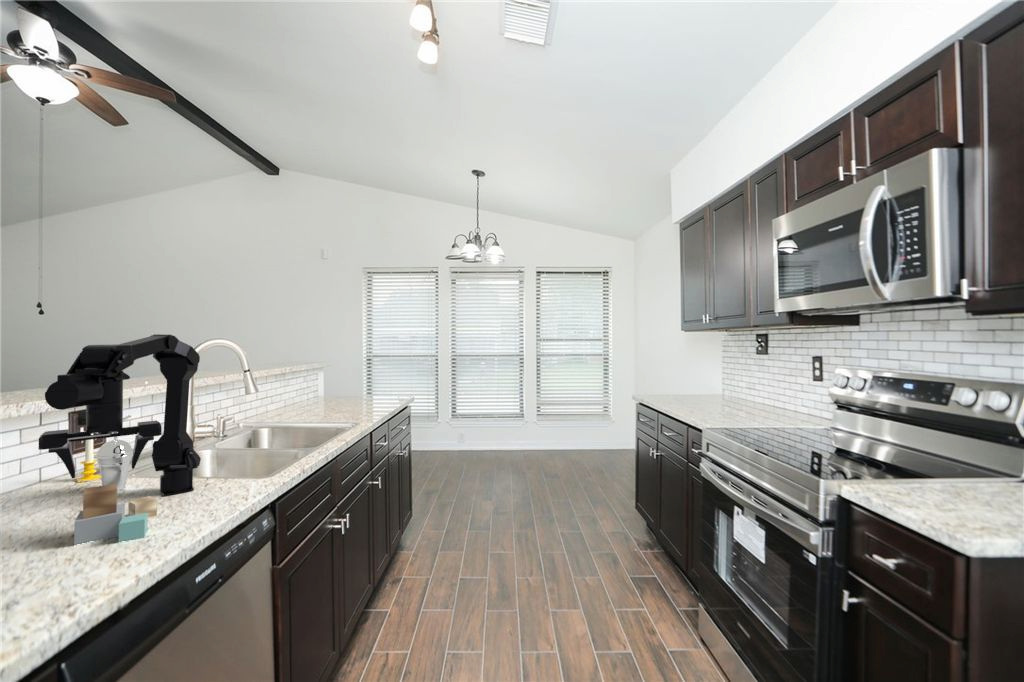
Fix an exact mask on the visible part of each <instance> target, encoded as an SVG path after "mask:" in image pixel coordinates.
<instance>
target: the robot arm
mask: <svg viewBox="0 0 1024 682" xmlns="http://www.w3.org/2000/svg"><path fill="white" fill-rule="evenodd" d="M81 350H82V351H80V353H79V354H78V355H77V357H76V358H75V360H74V362H73V363H72V365H70V368H69V369H68V370H67V372H66V374H58V375H57V378H56V379H57V381H54V382H53V383H51V384H50V385H49V386H48V387H47V389H46V391H45V392H44V398H45V402H46V403H47V405H49V407H51V408H53V409H55V410H63V411H64V410H67V409H73V408H74V409H75V408H80V407H85V411H77V420H76V421H77V424H76V425H77V427H78V428H84V427H85V431H77V432H70V428H68V429H58V430H47V431H44V432H43V433H42V434H40V435H39V437H38V451H39V450H40V451H41V450H43V451H44V450H48V453H50V454H51V453H53V454H54V453H55V454H56V455H57V456H58V457H59V459H61V461H62V462H63V464H64V466H65V467H66V469H67V471H68V473H69V476H70V477H71V479H75V478H76V466H75V461H74V455H73V449H72V443H71V442H81V441H86V440H91V439H93V440H98V439H107V438H114V437H117V438H118V437H125V436H133V435H134V436H135V437H134V439H135V440H134V445H133V449H134V450H133V454H132V457H131V470H134V469H135V468H136V466H137V463H138V462H139V458H140V456H141V455H142V452H143V450H144V448H145V447H146V446H147V444H148V442H149V441H153V440H154V441H153V443H152V454H151V459H152V462H153V466H154V470H155V472H162V474H161V475H160V476H159V491H160V493H162V495H163V497H165V496H171V495H177V494H181V493H187V492H193V491H194V490H195V488H194V483H193V481H194V478H193V476H194V473H193V472H194V469H198V468H199V466H200V464H201V459H202V458H201V457H200V455H199V454H198V452H196V450H195V449H194V441H193V439H192V437H191V436H190V435H189V433H188V432H187V425H188V414H189V413H188V410H189V409H188V408H189V394H190V380H191V379H192V378H193V377H194V375H195V374H196V373H197V372H198V368H199V363H200V359H201V358H200V357H201V356H200V354H199V352H198V351H196V350H195V349H194V347H192V346H191V345H189V344H188V343H185V342H183V341H181V340H179V339H178V338H177V336H175V335H172V334H159V333H158V334H153V335H149V336H146V337H142V338H139V339H138V338H137V339H135V340H131V341H126V342H123V343H118V344H115V343H114V344H88V345H86V346H84V347H82V349H81ZM151 355H152V358H153V359H154V360H156V362H158V363H159V371H160V373H161V374H162V376H163V377H164V379H165V381H166V388H165V389H166V390H165V400H164V401H165V403H164V404H165V405H164V417H163V418H164V419H163V433H162V424H161V422H159V421H158V420H149V421H147V420H145V421H139V422H137V425H136V426H135V425H133V426H125V427H124V426H123V425H124V423H123V418H124V417H123V416H124V415H123V414H124V413H123V410H124V407H123V406H124V405H123V404H124V403H123V402H124V380H125V381H126V380H130V378H131V377H130V375H129V374H127V373H125V372H124V371H125V370H126V369H128V368H129V367H131V366H133V365H134V364H135V361H136V360H138V359H142V358H145V357H149V356H151ZM115 432H117V433H115ZM91 434H93V435H91ZM158 436H159V438H158V440H155V437H158Z"/></svg>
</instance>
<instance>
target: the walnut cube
mask: <svg viewBox="0 0 1024 682" xmlns="http://www.w3.org/2000/svg"><path fill="white" fill-rule="evenodd" d="M83 490H84V491H83V495H82V497H83V498H82V504H83V505H82V511H83V519H86V518H91V517H96V516H101V515H106V514H111V513H116V510H117V505H118V501H117V499H118V496H117V495H118V491H117V483H116V484H110V485H104V486H102V485H99V486H98V485H97V486H92V487H87V488H86V487H85V488H84V489H83Z"/></svg>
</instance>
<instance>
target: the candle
mask: <svg viewBox="0 0 1024 682" xmlns="http://www.w3.org/2000/svg"><path fill="white" fill-rule="evenodd" d="M91 435H94V433H93V434H91ZM84 454H85V455H84V456H85V457H84V460H83V461H81V462H79V464H80V465H83V471H81V473H80V475H82V477H78V478H77V479H76V480H77V481H85V480H86V481H87V480H94V479H98V478H100V479H101V474H100V475H99V474H95V473H96V472H97V469H95V463H98V461H97V459H94V458H93V457H94V439H91V440H85V453H84ZM98 480H99V479H98ZM94 481H95V480H94Z"/></svg>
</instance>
